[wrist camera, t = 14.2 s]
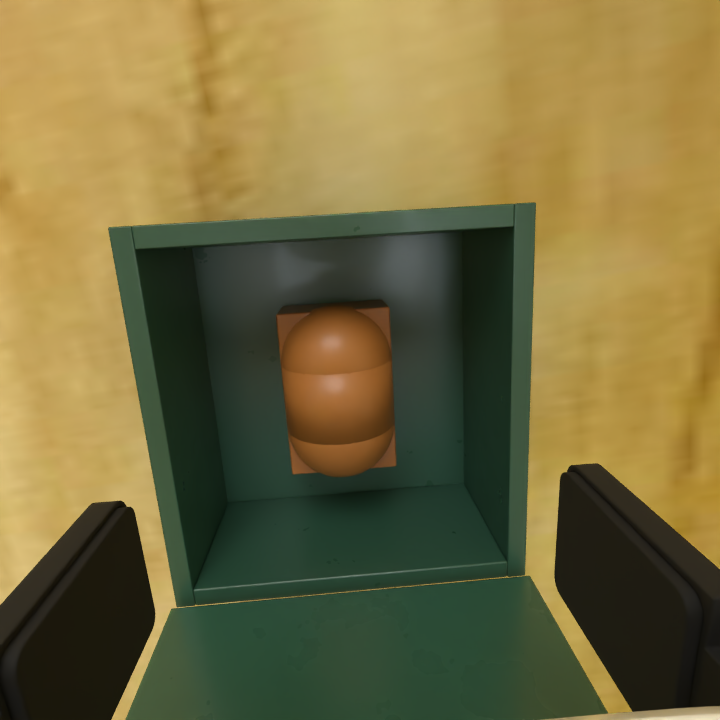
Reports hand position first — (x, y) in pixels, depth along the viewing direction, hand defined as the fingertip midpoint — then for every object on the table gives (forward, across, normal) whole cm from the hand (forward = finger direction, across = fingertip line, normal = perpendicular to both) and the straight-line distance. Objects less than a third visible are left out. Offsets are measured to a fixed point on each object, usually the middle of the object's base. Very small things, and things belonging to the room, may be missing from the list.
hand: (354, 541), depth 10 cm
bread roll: (+15, 0, +1) cm, 15 cm away
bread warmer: (+16, 0, +1) cm, 16 cm away
